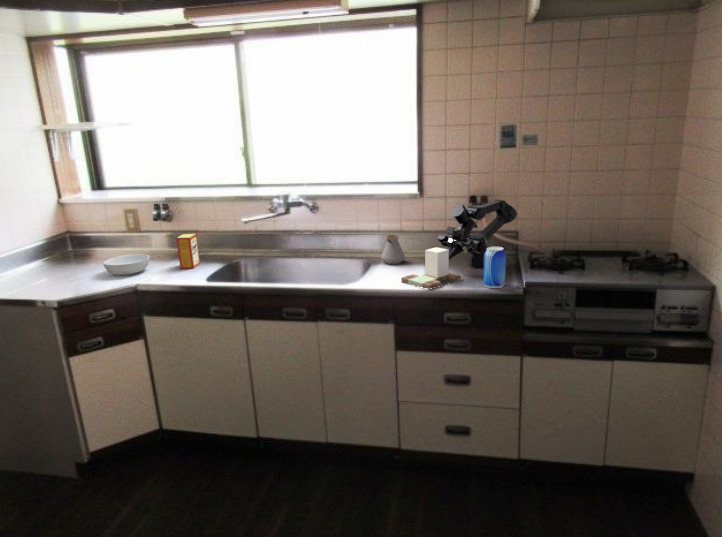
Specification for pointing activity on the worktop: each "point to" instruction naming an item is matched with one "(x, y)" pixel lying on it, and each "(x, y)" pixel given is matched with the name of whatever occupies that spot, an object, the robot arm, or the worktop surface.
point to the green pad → (420, 280)
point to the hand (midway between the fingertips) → (447, 258)
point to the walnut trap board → (433, 283)
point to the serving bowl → (127, 264)
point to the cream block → (436, 262)
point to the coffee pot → (392, 251)
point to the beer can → (494, 267)
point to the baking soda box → (188, 251)
